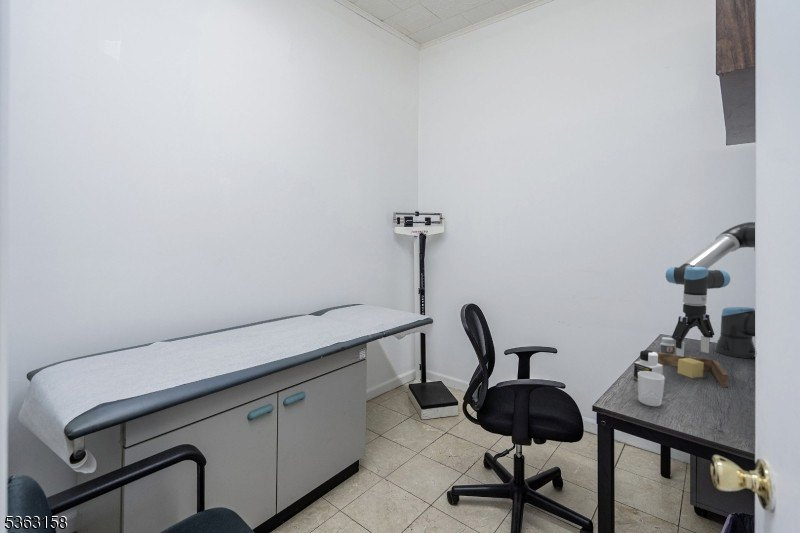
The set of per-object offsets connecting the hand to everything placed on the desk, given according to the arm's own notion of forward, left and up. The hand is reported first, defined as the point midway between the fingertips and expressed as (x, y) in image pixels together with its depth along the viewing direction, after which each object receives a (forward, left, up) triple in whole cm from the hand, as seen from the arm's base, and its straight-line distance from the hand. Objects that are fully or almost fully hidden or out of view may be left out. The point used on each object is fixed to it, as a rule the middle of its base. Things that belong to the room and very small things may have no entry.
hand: (692, 353), depth 153 cm
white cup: (+17, +38, -9) cm, 43 cm away
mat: (0, 0, -9) cm, 9 cm away
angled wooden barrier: (+1, -1, -9) cm, 9 cm away
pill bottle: (+6, -20, -9) cm, 23 cm away
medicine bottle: (+16, +15, -9) cm, 24 cm away
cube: (0, 0, -9) cm, 9 cm away
